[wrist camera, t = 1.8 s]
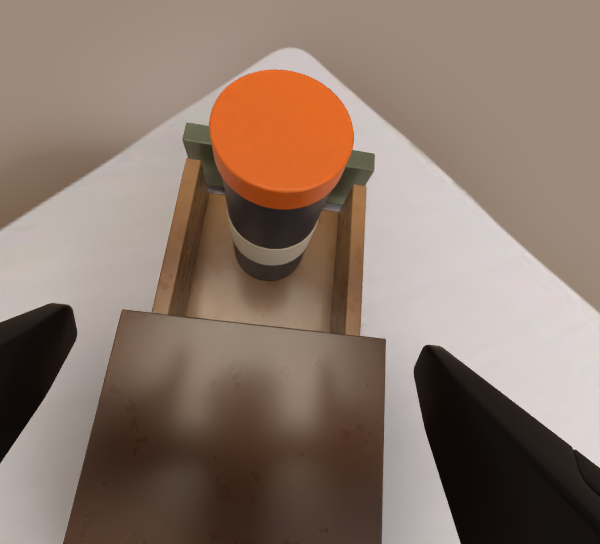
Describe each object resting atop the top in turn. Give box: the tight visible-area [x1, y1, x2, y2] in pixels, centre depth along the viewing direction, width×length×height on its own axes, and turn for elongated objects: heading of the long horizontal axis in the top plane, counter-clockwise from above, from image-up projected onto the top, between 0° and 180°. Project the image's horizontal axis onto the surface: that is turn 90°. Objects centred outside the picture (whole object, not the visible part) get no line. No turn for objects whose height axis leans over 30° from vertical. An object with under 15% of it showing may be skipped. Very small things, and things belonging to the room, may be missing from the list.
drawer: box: [152, 123, 375, 336], centre depth 20 cm, size 16×11×4 cm, turn 175°
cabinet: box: [63, 310, 386, 544], centre depth 16 cm, size 14×12×6 cm
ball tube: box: [209, 70, 354, 281], centre depth 16 cm, size 4×4×11 cm
